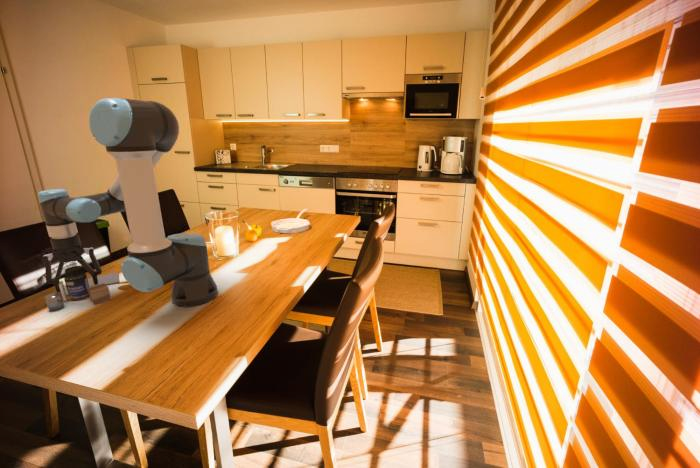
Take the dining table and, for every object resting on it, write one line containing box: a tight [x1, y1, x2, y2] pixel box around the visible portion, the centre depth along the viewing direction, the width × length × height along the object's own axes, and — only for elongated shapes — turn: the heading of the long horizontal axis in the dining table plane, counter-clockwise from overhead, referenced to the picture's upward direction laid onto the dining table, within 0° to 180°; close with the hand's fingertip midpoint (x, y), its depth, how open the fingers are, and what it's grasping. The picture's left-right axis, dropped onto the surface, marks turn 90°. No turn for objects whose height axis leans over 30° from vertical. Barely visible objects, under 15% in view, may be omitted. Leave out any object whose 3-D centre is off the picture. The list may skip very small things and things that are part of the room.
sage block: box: [59, 277, 69, 296], centre depth 124 cm, size 8×4×4 cm, turn 61°
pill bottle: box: [63, 265, 89, 301], centre depth 118 cm, size 6×6×11 cm
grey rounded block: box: [44, 292, 65, 313], centre depth 111 cm, size 4×4×5 cm
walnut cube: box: [87, 283, 112, 306], centre depth 117 cm, size 5×5×5 cm
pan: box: [270, 208, 311, 235], centre depth 209 cm, size 24×43×6 cm, turn 169°
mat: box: [87, 272, 120, 287], centre depth 131 cm, size 11×11×1 cm
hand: (80, 296), depth 120 cm, fingers open, 8 cm apart
